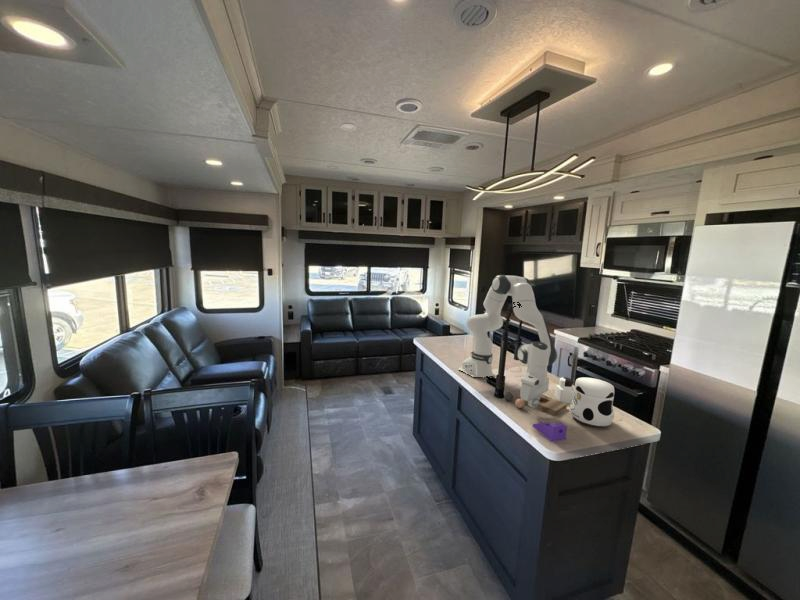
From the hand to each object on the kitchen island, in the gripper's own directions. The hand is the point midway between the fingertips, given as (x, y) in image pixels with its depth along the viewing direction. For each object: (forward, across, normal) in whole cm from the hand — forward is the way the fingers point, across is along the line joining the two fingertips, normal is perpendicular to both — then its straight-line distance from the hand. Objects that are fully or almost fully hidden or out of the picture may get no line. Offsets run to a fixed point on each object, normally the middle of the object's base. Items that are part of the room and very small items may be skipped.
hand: (533, 404), depth 152 cm
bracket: (+5, +10, +13) cm, 17 cm away
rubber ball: (+3, -4, -15) cm, 16 cm away
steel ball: (-1, 0, 0) cm, 1 cm away
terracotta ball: (+3, -1, -7) cm, 8 cm away
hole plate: (+5, -13, -2) cm, 14 cm away
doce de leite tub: (+5, -16, +20) cm, 26 cm away
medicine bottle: (+5, -28, +2) cm, 29 cm away
